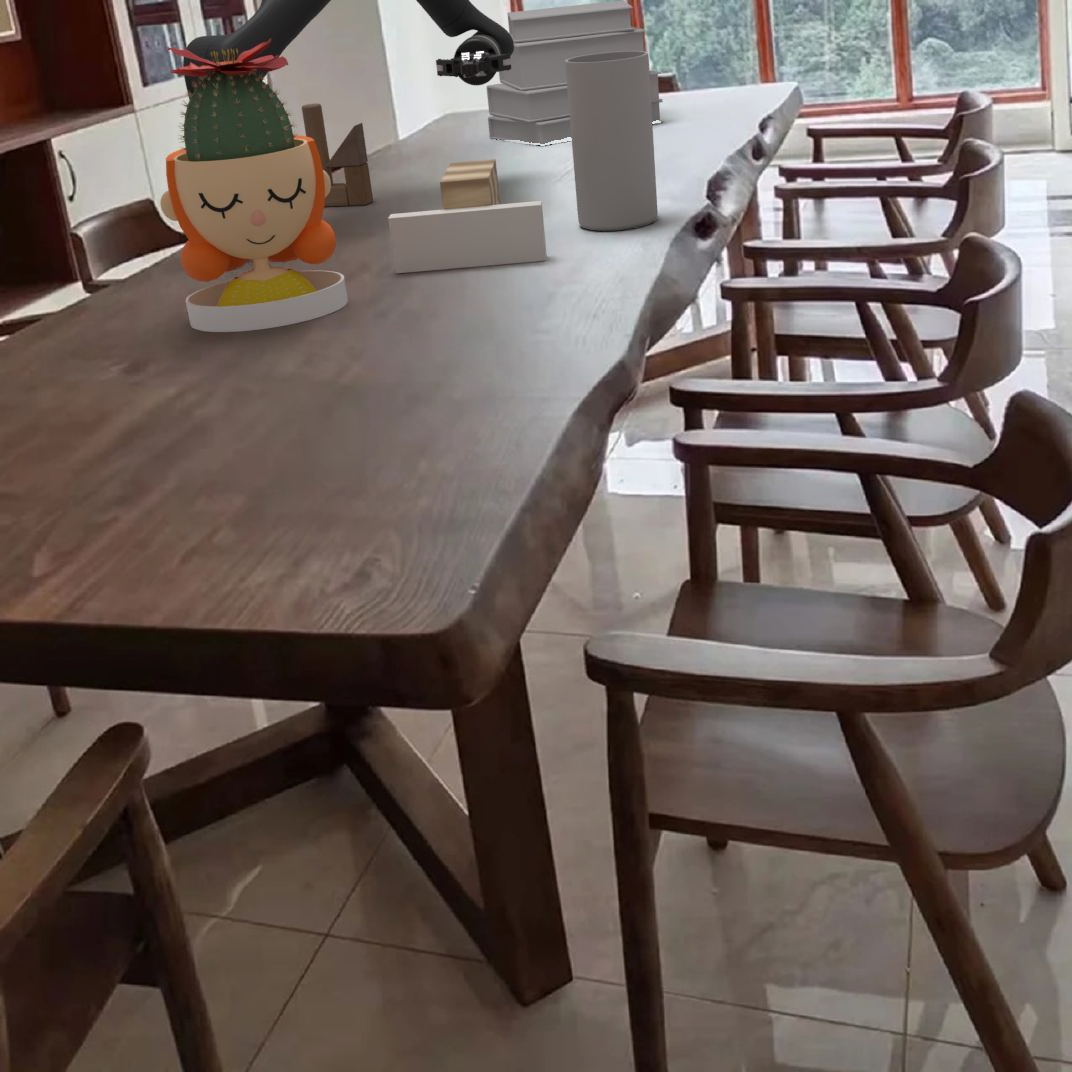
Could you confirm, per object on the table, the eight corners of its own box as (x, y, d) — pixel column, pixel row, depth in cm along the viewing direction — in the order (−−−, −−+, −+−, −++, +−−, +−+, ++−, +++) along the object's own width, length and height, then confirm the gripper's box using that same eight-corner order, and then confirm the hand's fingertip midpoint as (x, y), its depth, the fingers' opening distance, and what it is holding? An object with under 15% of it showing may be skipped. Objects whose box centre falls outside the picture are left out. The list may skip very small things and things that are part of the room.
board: (398, 268, 205) (390, 214, 202) (546, 255, 204) (541, 200, 200) (395, 273, 203) (387, 218, 199) (546, 260, 201) (540, 204, 198)
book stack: (475, 139, 316) (462, 18, 305) (602, 114, 332) (593, -1, 321) (547, 150, 292) (535, 20, 281) (679, 123, 308) (673, -1, 297)
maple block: (459, 240, 219) (450, 163, 214) (503, 236, 219) (495, 159, 214) (450, 264, 205) (439, 182, 200) (497, 260, 204) (488, 178, 199)
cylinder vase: (615, 211, 228) (604, 51, 217) (674, 217, 219) (665, 50, 209) (562, 228, 220) (548, 62, 210) (621, 235, 211) (609, 62, 201)
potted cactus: (359, 312, 184) (317, 33, 170) (189, 341, 179) (131, 56, 165) (333, 279, 203) (293, 25, 189) (179, 304, 198) (126, 45, 184)
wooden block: (366, 205, 254) (351, 103, 246) (312, 207, 257) (296, 107, 249) (374, 201, 257) (359, 100, 249) (321, 203, 260) (305, 103, 253)
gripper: (436, 39, 236) (425, 48, 220) (514, 33, 235) (508, 41, 219) (441, 86, 239) (430, 98, 223) (518, 79, 238) (512, 90, 222)
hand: (469, 69), depth 221 cm, fingers closed
